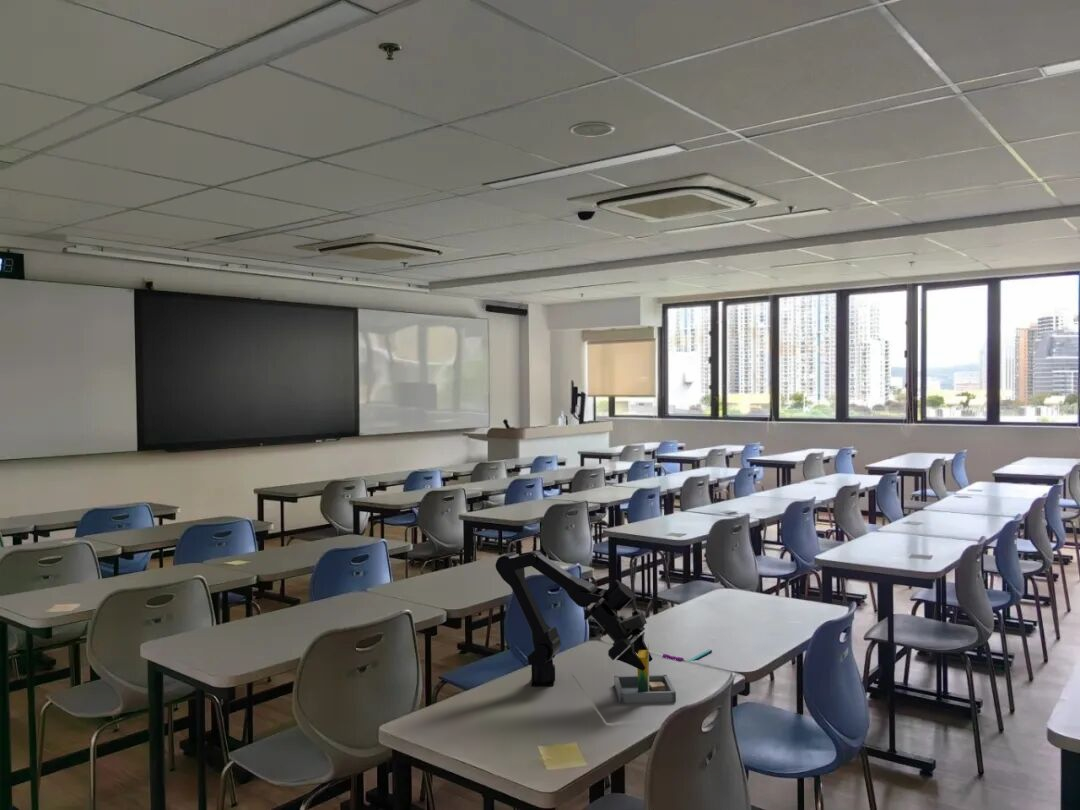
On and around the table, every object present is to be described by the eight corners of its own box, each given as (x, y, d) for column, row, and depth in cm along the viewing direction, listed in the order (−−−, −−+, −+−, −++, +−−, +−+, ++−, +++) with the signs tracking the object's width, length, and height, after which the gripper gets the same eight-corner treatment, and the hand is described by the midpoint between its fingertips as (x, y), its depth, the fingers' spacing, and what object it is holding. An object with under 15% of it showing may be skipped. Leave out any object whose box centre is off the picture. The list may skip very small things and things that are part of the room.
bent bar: (684, 643, 263) (711, 649, 256) (684, 648, 263) (712, 654, 256) (636, 667, 241) (664, 674, 234) (636, 673, 241) (664, 680, 234)
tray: (620, 705, 213) (619, 693, 213) (614, 686, 227) (614, 675, 227) (675, 703, 213) (675, 692, 213) (666, 685, 227) (666, 674, 227)
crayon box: (638, 684, 224) (638, 642, 224) (649, 684, 223) (649, 643, 223) (637, 693, 216) (637, 650, 217) (648, 693, 216) (648, 651, 216)
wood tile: (652, 691, 221) (652, 686, 221) (647, 686, 225) (647, 682, 225) (665, 689, 222) (665, 685, 222) (660, 685, 226) (660, 680, 226)
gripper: (619, 611, 213) (660, 656, 208) (637, 595, 230) (675, 637, 226) (591, 637, 216) (631, 683, 212) (611, 619, 233) (648, 661, 229)
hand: (647, 665), depth 219 cm, fingers closed on crayon box, 7 cm apart
